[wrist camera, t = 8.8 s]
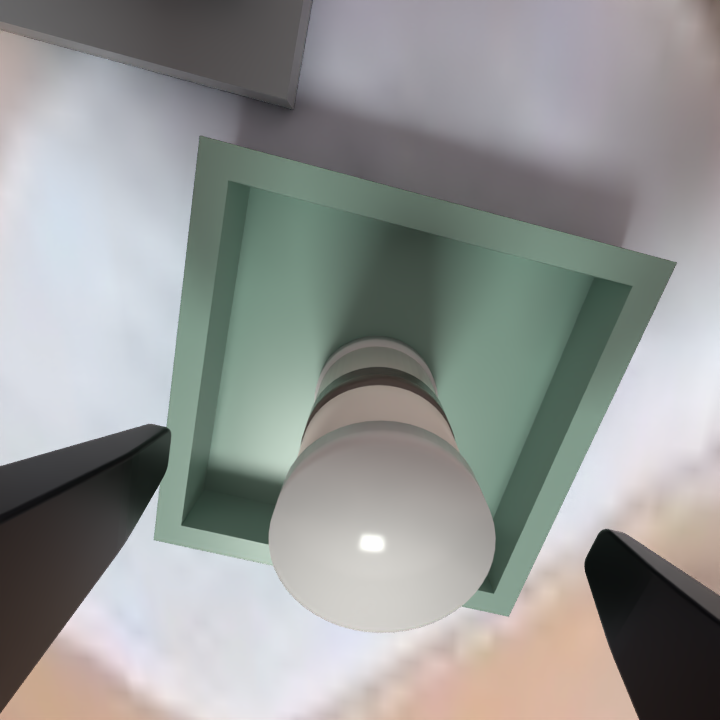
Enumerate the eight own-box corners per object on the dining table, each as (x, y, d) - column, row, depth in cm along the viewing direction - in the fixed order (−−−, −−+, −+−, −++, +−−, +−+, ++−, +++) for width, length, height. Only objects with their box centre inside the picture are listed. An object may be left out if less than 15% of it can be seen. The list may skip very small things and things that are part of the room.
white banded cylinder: (306, 428, 14) (249, 606, 7) (333, 321, 13) (295, 419, 6) (413, 455, 14) (451, 652, 8) (449, 353, 13) (530, 479, 7)
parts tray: (186, 492, 16) (153, 540, 13) (232, 152, 12) (200, 135, 10) (488, 559, 16) (508, 616, 14) (620, 255, 13) (676, 262, 10)
